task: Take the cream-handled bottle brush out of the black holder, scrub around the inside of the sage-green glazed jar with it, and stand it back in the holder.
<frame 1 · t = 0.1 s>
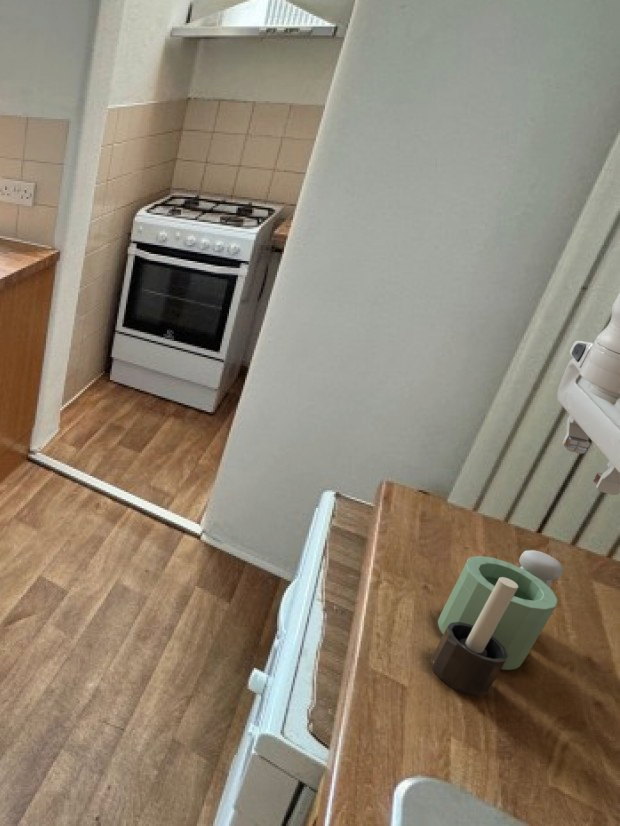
hand: (587, 469, 76), 33 cm above the countertop, tool pointing down, fingers open, 8 cm apart
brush: (460, 672, 84), point 1 cm above the countertop, touching holder
jar: (478, 640, 90), on the countertop
salt shaker: (508, 622, 93), on the countertop
holder: (458, 676, 85), on the countertop
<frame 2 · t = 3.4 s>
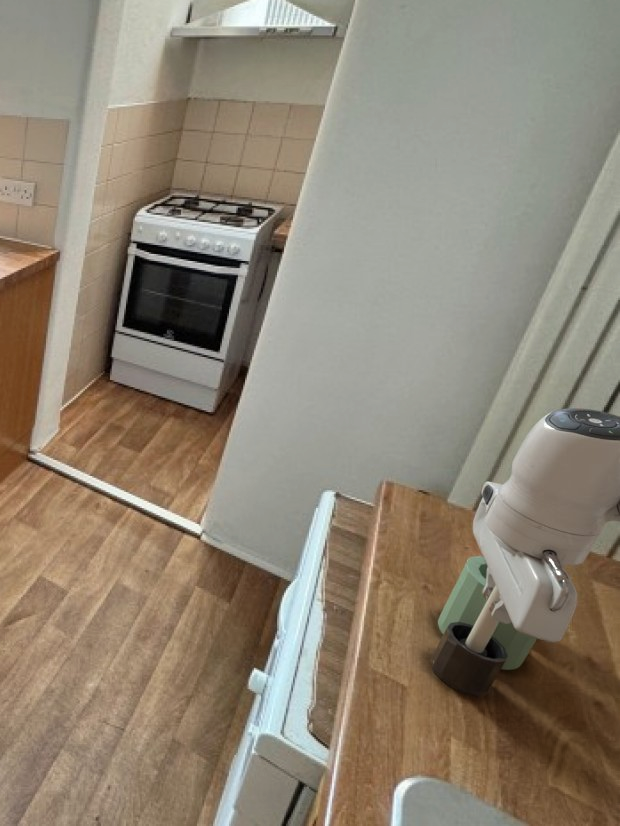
hand: (494, 608, 80), 13 cm above the countertop, tool pointing down, fingers closed on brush, 2 cm apart
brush: (460, 672, 84), point 1 cm above the countertop, touching gripper, holder
everything else where it was.
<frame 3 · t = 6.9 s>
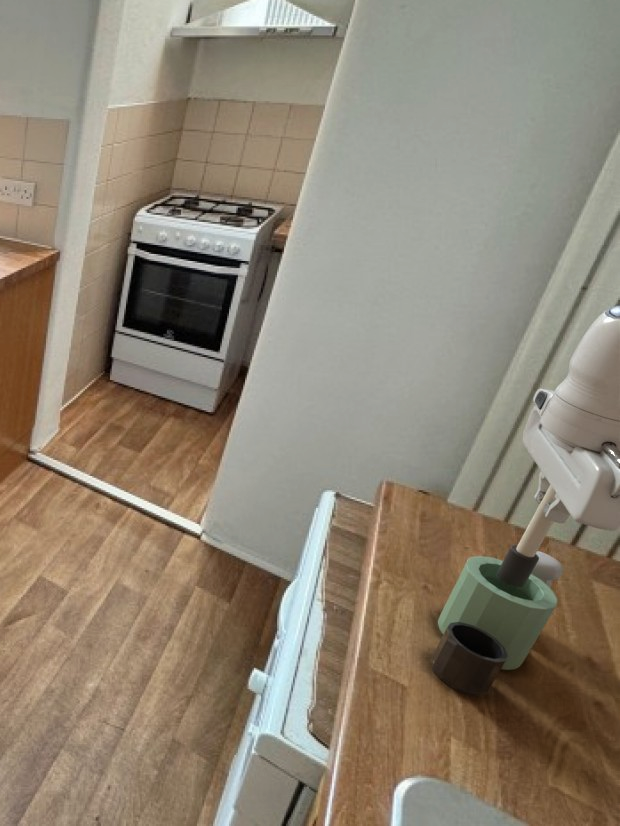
hand: (548, 511, 81), 25 cm above the countertop, tool pointing down, fingers closed on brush
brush: (510, 579, 85), point 12 cm above the countertop, touching gripper
everything else where it was.
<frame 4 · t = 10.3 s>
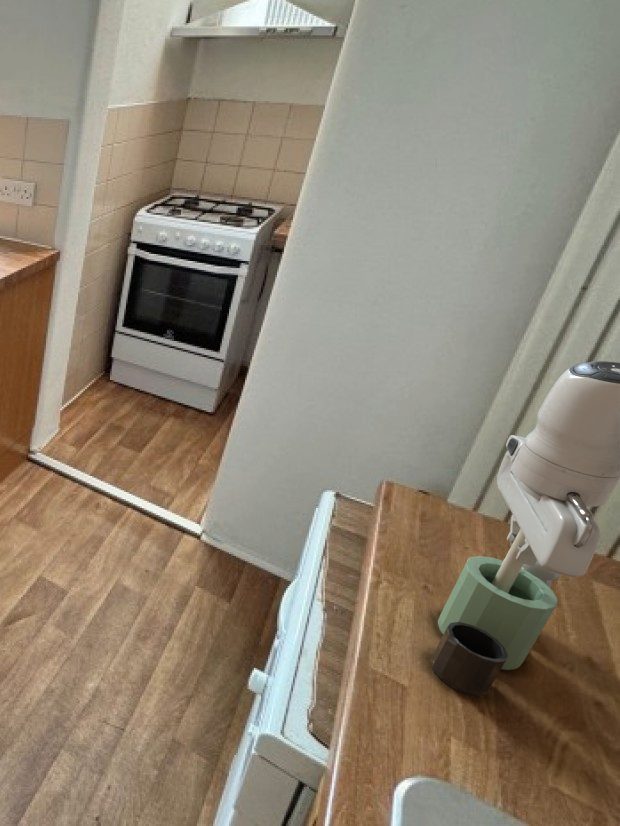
hand: (519, 553, 85), 16 cm above the countertop, tool pointing down, fingers closed on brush
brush: (484, 615, 89), point 4 cm above the countertop, touching gripper
everything else where it was.
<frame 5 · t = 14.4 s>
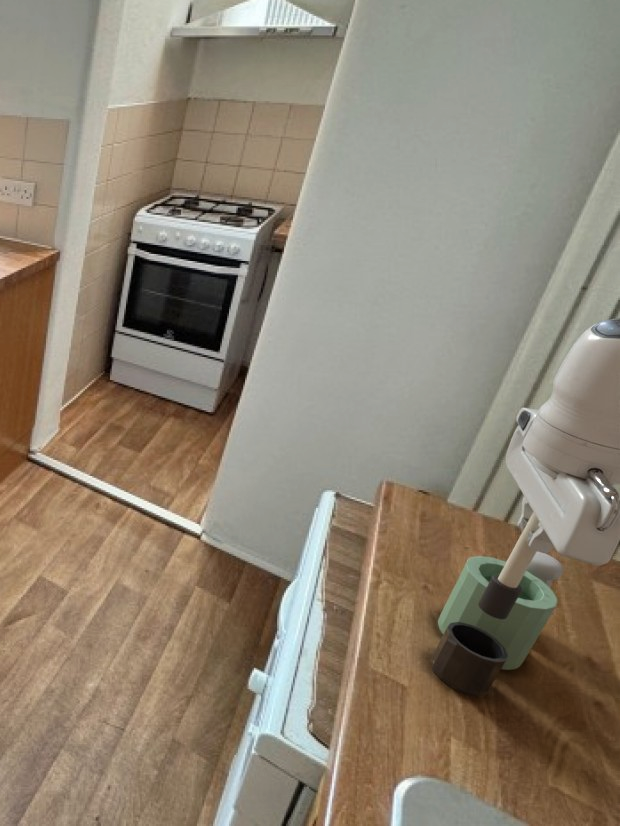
hand: (531, 539, 75), 25 cm above the countertop, tool pointing down, fingers closed on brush
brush: (492, 610, 80), point 13 cm above the countertop, touching gripper
everything else where it was.
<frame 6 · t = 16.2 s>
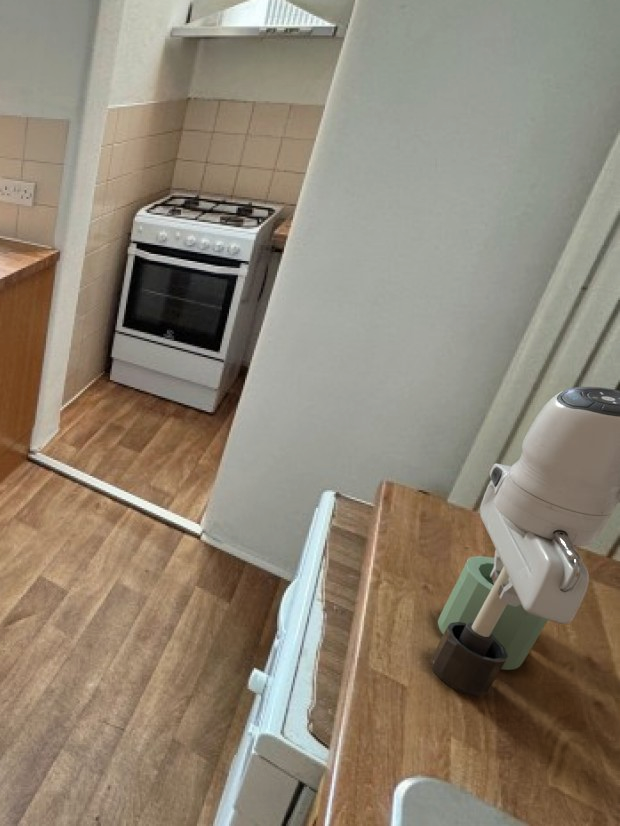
hand: (502, 591, 79), 16 cm above the countertop, tool pointing down, fingers closed on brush
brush: (466, 656, 83), point 4 cm above the countertop, touching gripper
everything else where it was.
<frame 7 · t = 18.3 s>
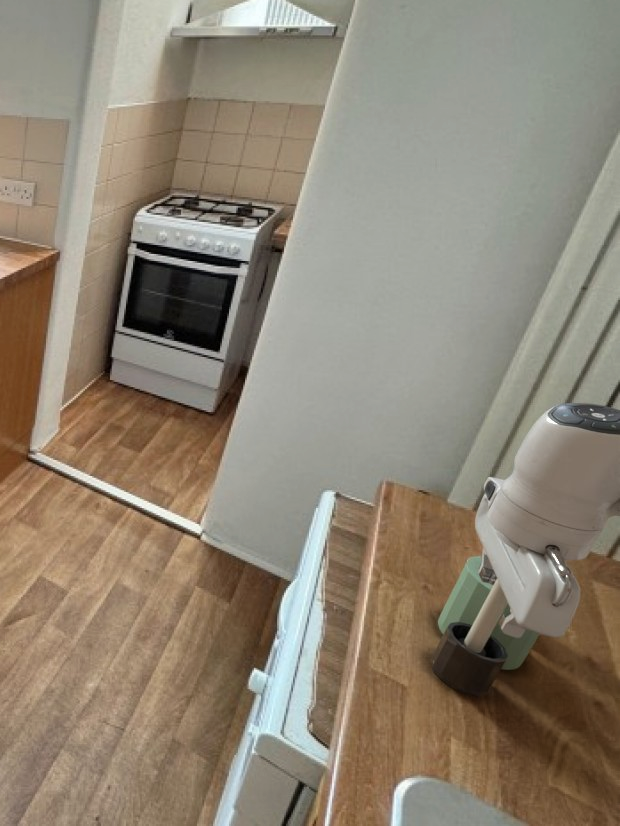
hand: (497, 604, 79), 14 cm above the countertop, tool pointing down, fingers open, 8 cm apart
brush: (458, 672, 84), point 1 cm above the countertop, touching holder
everything else where it was.
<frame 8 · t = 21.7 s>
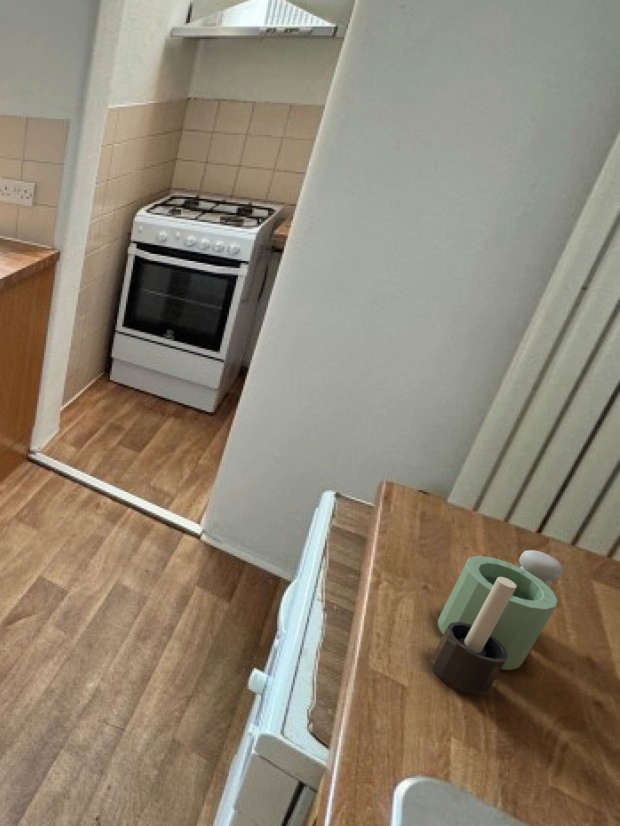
nothing on the countertop moved.
at the end: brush 0.2 cm off-centre in the holder, point 0.8 cm above the holder's base; the gripper is holding nothing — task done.
